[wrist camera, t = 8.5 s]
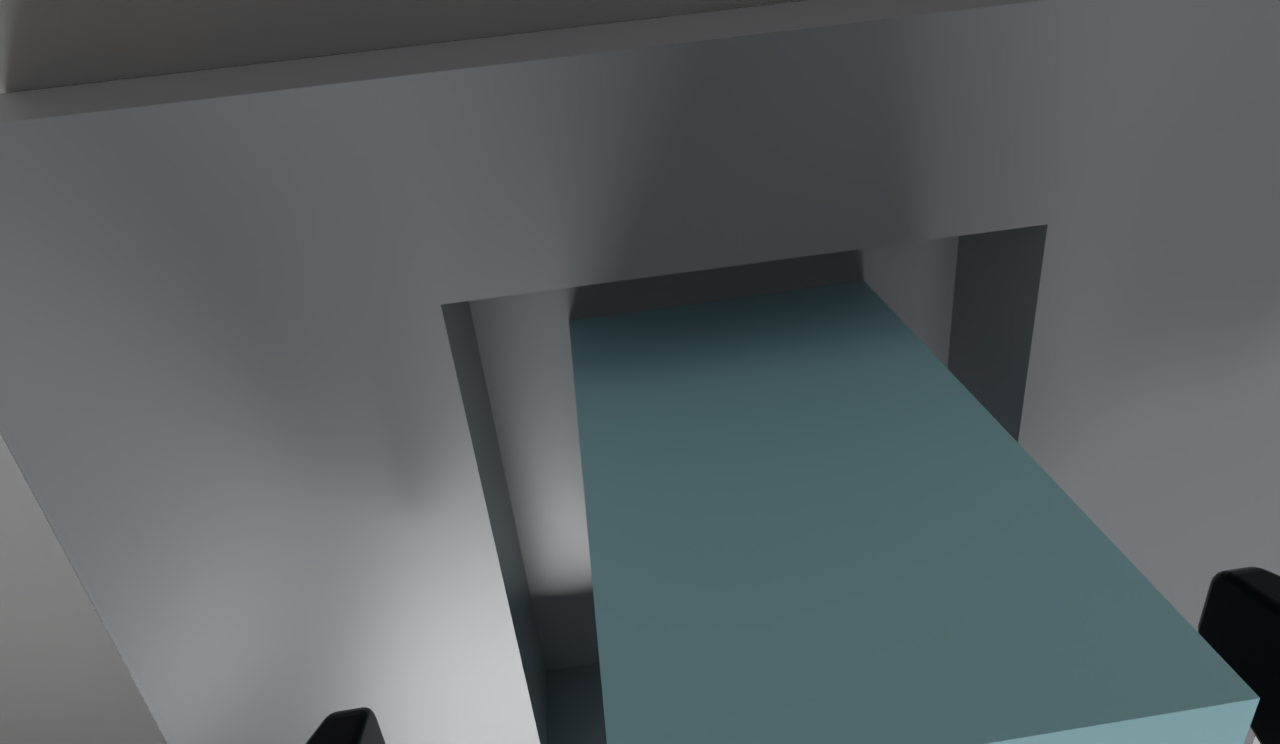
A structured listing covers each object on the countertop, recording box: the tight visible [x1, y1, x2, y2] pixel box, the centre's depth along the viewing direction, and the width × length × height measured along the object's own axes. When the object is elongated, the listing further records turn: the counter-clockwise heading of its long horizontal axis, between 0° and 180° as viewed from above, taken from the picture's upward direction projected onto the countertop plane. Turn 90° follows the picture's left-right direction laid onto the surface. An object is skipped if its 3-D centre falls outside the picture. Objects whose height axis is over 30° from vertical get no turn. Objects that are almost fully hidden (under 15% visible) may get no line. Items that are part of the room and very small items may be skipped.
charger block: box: [569, 281, 1260, 744], centre depth 9 cm, size 4×5×7 cm
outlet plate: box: [0, 0, 1280, 744], centre depth 11 cm, size 16×12×4 cm
